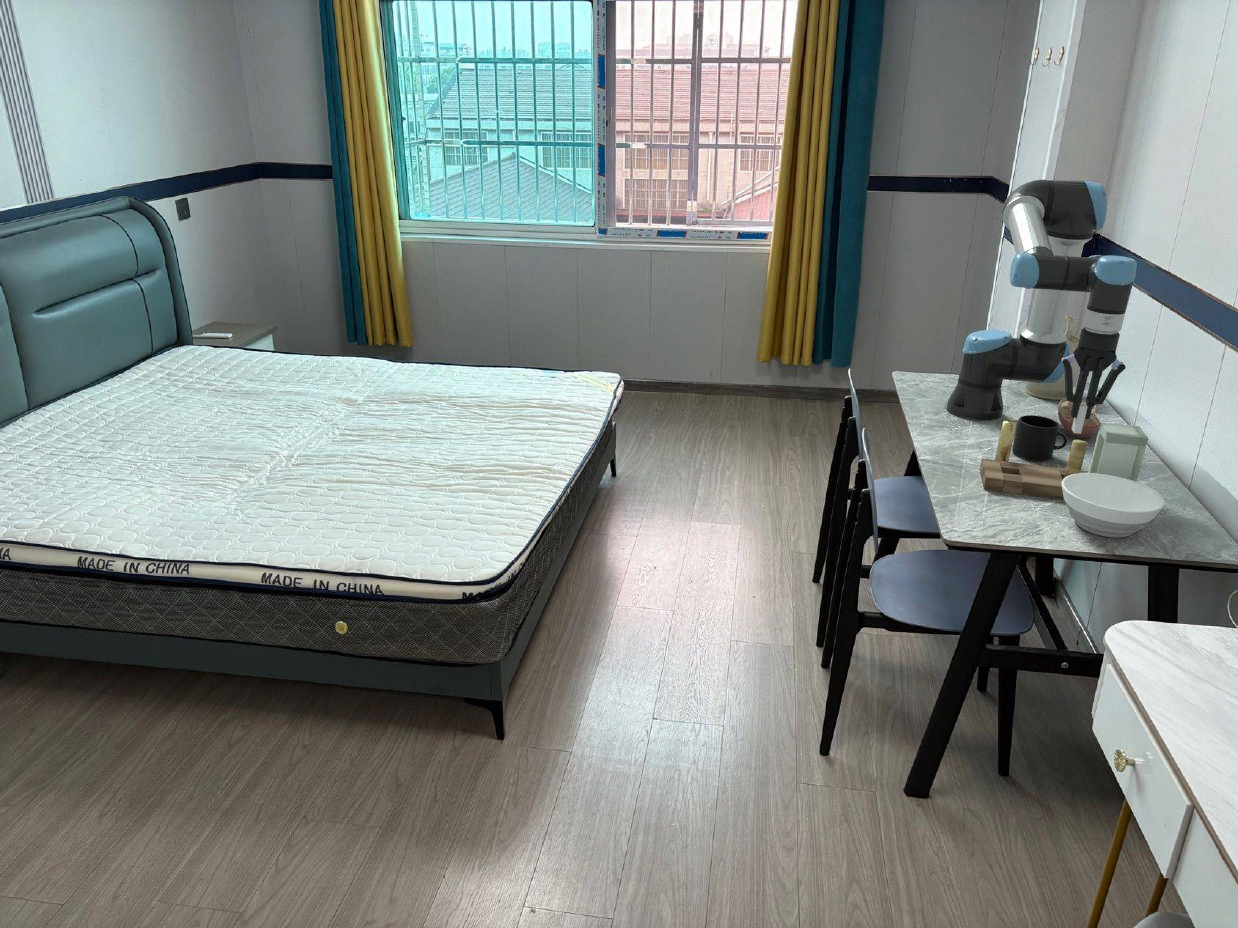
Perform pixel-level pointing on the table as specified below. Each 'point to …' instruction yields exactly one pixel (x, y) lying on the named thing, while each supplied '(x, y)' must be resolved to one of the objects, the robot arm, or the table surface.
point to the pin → (1005, 440)
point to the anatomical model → (1067, 421)
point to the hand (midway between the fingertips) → (1076, 431)
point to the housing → (1118, 451)
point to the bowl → (1110, 503)
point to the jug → (1058, 388)
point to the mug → (1037, 438)
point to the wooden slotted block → (1031, 475)
